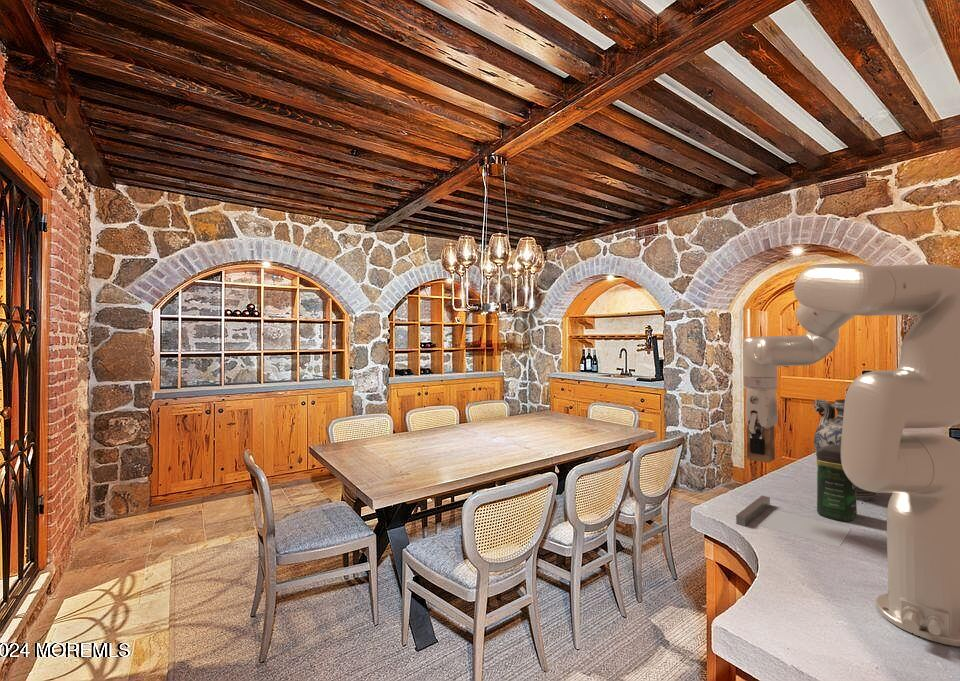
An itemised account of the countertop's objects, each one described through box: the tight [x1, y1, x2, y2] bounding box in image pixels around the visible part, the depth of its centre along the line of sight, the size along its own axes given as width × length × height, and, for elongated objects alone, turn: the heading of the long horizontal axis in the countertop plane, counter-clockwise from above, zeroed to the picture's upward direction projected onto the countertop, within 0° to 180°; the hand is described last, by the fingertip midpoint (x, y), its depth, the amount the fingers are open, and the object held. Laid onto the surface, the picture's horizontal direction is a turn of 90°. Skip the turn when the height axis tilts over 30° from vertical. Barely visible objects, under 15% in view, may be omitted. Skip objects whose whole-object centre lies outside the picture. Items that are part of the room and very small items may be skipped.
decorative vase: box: [813, 398, 879, 501], centre depth 130 cm, size 21×19×28 cm
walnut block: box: [746, 422, 776, 464], centre depth 115 cm, size 5×5×10 cm
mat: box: [758, 509, 852, 548], centre depth 108 cm, size 14×16×1 cm
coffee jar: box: [816, 444, 858, 523], centre depth 115 cm, size 10×8×19 cm
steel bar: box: [735, 495, 771, 527], centre depth 117 cm, size 20×2×2 cm, turn 131°
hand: (761, 450), depth 115 cm, fingers closed on walnut block, 5 cm apart
